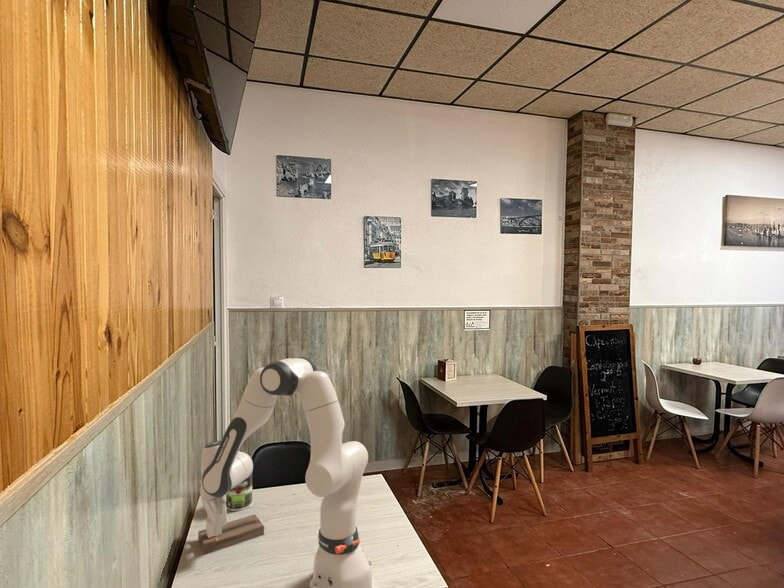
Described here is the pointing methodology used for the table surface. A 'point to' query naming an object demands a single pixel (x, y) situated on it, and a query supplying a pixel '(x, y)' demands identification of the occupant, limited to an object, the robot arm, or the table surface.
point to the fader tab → (210, 528)
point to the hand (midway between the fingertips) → (213, 528)
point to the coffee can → (240, 496)
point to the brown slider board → (232, 534)
